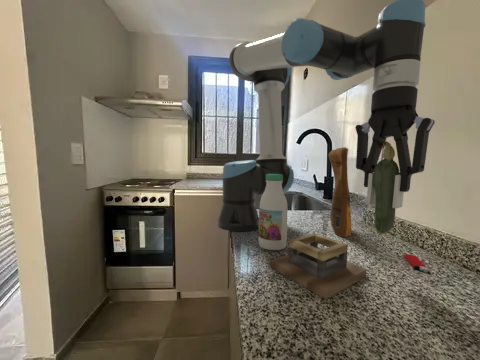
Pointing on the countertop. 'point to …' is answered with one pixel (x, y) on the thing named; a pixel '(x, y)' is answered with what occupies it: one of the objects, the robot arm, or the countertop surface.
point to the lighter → (416, 263)
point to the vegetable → (385, 190)
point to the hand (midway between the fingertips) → (383, 204)
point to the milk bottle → (273, 214)
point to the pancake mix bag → (340, 194)
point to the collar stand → (319, 265)
